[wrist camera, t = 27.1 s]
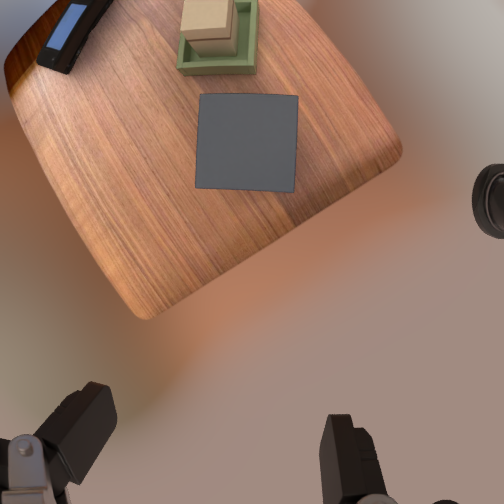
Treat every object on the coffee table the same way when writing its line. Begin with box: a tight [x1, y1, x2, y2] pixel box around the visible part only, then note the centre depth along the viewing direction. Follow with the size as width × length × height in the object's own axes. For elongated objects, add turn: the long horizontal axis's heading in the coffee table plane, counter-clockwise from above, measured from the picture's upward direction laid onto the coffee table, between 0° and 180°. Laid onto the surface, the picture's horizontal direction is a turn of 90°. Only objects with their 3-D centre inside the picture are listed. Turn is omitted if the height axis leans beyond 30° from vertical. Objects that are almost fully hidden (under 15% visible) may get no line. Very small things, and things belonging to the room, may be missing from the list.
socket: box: [176, 0, 259, 76], centre depth 34 cm, size 10×11×4 cm
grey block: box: [195, 93, 298, 193], centre depth 31 cm, size 8×8×15 cm
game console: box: [36, 0, 114, 75], centre depth 31 cm, size 16×14×9 cm
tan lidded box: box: [180, 0, 240, 58], centre depth 30 cm, size 5×6×9 cm
